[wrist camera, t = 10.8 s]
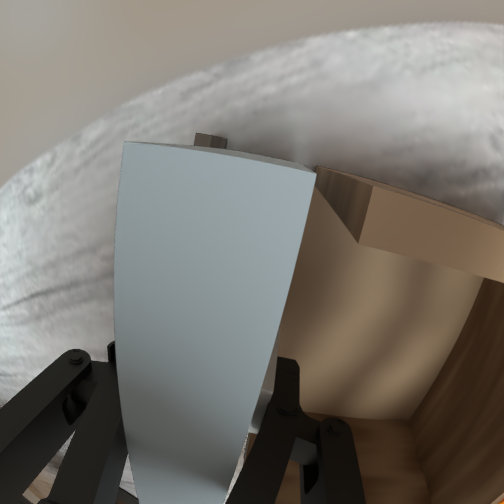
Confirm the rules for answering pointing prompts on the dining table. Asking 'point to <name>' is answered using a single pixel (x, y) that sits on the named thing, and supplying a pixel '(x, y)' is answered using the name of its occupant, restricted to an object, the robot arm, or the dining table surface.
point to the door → (199, 306)
